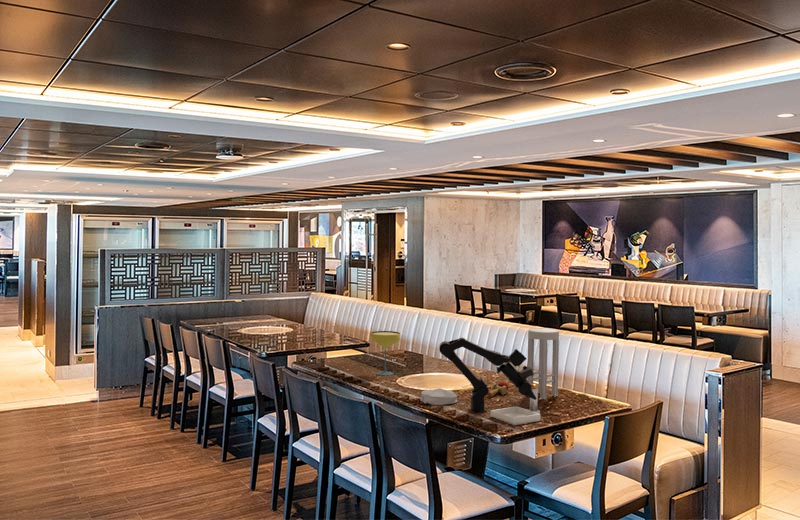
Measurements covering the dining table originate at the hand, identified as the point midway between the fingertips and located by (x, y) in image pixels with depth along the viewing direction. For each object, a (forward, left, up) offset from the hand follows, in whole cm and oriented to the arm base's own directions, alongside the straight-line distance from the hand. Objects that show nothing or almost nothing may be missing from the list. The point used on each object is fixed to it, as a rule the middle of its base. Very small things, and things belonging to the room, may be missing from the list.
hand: (534, 396), depth 310 cm
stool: (-23, +28, -8) cm, 37 cm away
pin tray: (+4, -15, -8) cm, 17 cm away
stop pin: (0, 0, -8) cm, 8 cm away
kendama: (-37, +9, -8) cm, 39 cm away
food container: (-41, -26, -8) cm, 50 cm away
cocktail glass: (-111, -17, -8) cm, 113 cm away
